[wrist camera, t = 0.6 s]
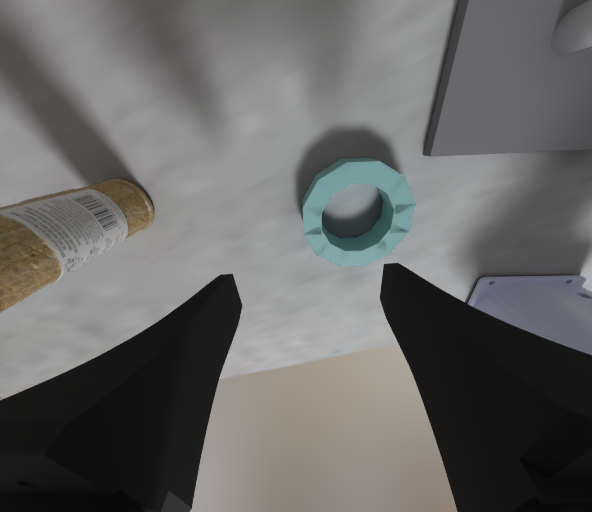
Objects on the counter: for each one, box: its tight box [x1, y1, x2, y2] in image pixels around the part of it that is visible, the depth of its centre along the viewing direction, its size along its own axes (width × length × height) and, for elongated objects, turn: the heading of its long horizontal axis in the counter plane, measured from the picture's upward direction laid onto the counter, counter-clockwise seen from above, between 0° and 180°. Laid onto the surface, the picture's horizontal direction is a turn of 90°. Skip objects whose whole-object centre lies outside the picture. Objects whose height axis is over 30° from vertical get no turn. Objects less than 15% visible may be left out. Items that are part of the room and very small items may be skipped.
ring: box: [303, 157, 416, 266], centre depth 17 cm, size 8×8×2 cm
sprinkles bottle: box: [0, 179, 154, 312], centre depth 13 cm, size 5×5×14 cm
